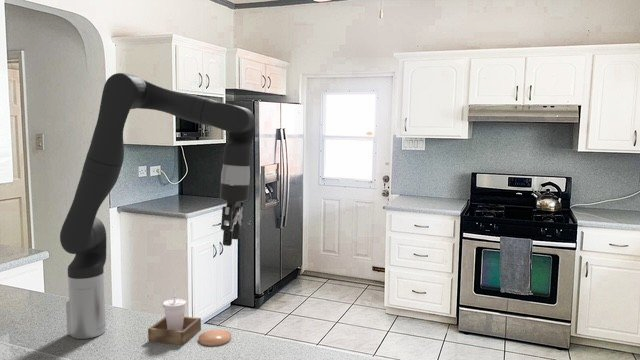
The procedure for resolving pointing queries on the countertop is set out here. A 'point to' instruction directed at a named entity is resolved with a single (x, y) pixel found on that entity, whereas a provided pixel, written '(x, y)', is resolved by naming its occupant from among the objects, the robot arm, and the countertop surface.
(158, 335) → the crate
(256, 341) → the countertop surface
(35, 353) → the countertop surface
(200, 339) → the peach glossy dome
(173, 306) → the smoothie
